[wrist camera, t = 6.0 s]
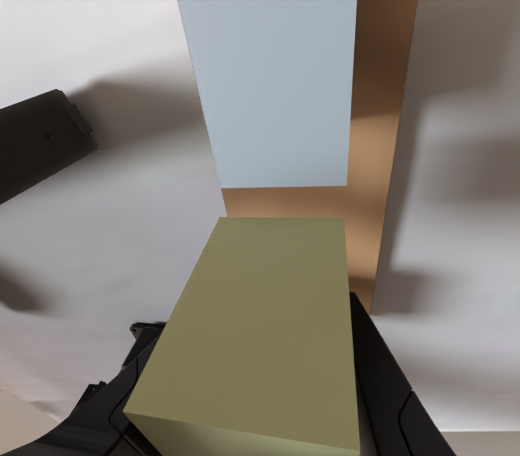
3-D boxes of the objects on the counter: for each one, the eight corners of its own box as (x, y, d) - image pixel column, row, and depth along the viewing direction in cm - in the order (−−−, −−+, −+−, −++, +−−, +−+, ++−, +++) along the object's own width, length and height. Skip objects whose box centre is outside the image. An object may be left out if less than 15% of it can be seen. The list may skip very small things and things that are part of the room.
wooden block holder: (366, 315, 23) (378, 414, 17) (253, 307, 25) (231, 394, 19) (425, -98, 10) (543, -216, 4) (177, -46, 12) (48, -83, 6)
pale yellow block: (338, 319, 12) (345, 523, 7) (243, 311, 13) (194, 490, 8) (343, 217, 9) (360, 451, 4) (219, 217, 10) (122, 411, 5)
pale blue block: (340, 121, 14) (346, 185, 9) (255, 126, 14) (220, 188, 10) (345, -20, 11) (358, -35, 6) (238, -2, 11) (176, -2, 7)
